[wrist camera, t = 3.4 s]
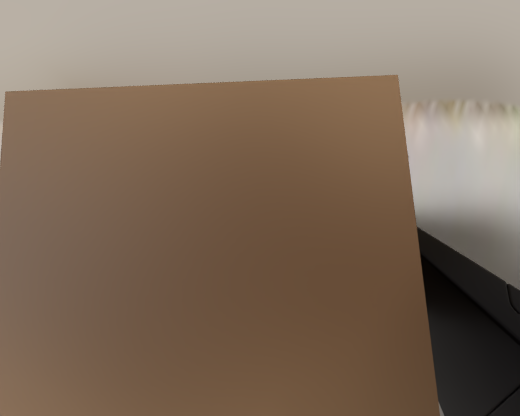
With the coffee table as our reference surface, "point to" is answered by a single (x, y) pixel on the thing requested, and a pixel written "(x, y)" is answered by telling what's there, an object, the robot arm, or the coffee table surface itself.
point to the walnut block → (211, 252)
